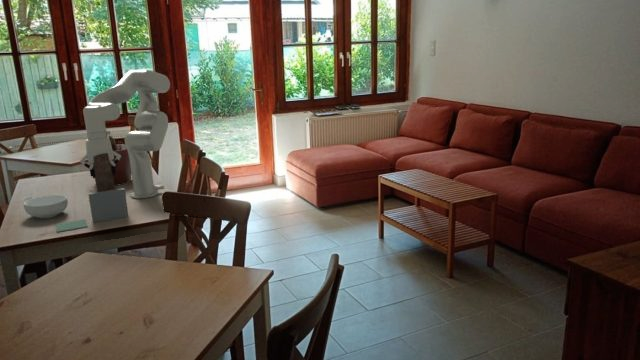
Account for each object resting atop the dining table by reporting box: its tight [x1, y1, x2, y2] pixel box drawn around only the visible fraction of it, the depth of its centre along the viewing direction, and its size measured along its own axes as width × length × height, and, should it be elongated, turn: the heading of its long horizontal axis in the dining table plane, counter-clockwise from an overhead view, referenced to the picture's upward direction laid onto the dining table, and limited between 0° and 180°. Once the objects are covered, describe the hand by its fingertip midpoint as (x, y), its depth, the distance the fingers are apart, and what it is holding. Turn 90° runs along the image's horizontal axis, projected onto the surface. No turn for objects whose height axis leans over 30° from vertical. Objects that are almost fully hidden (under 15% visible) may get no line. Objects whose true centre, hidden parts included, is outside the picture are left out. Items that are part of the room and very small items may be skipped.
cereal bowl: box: [23, 194, 69, 219], centre depth 216 cm, size 17×17×7 cm
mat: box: [55, 218, 89, 233], centre depth 203 cm, size 11×10×1 cm
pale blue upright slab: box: [87, 187, 129, 223], centre depth 209 cm, size 14×2×12 cm, turn 119°
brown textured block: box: [93, 153, 116, 192], centre depth 214 cm, size 8×7×20 cm
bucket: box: [107, 135, 132, 186], centre depth 266 cm, size 24×22×25 cm
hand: (103, 175), depth 214 cm, fingers closed on brown textured block, 7 cm apart
